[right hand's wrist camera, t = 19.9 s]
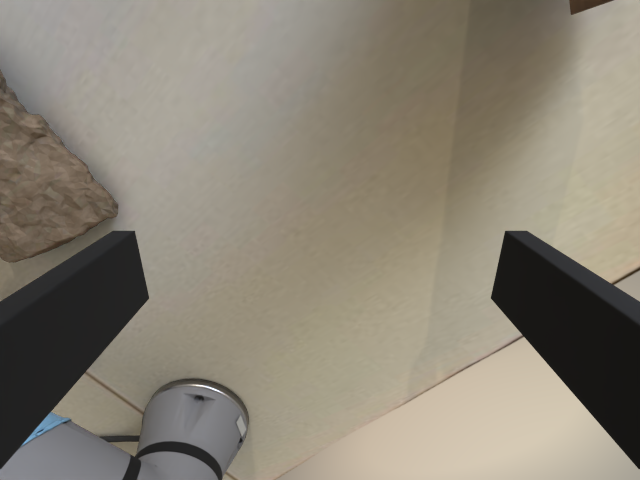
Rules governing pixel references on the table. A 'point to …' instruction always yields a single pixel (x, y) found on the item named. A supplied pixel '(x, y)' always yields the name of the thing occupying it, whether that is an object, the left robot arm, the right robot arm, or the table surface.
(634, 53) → the table surface
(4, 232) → the stone
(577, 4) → the box
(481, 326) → the table surface
